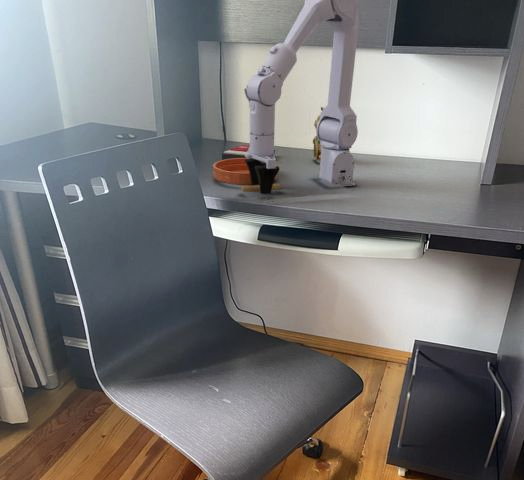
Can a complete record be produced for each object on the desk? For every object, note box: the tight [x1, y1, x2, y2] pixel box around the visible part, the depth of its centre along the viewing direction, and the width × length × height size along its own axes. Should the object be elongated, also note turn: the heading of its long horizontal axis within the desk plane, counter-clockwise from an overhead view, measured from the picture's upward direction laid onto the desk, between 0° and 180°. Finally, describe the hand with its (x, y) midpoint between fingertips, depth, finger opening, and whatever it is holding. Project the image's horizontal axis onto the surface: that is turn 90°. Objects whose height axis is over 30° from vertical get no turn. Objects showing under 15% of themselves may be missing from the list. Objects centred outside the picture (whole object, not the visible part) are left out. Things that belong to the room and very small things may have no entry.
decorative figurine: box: [312, 106, 325, 164], centre depth 158 cm, size 10×8×15 cm
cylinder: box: [240, 183, 282, 193], centre depth 131 cm, size 10×2×2 cm, turn 109°
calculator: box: [221, 144, 276, 160], centre depth 158 cm, size 11×4×15 cm
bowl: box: [212, 158, 279, 186], centre depth 141 cm, size 17×17×4 cm
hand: (261, 192), depth 131 cm, fingers open, 6 cm apart
